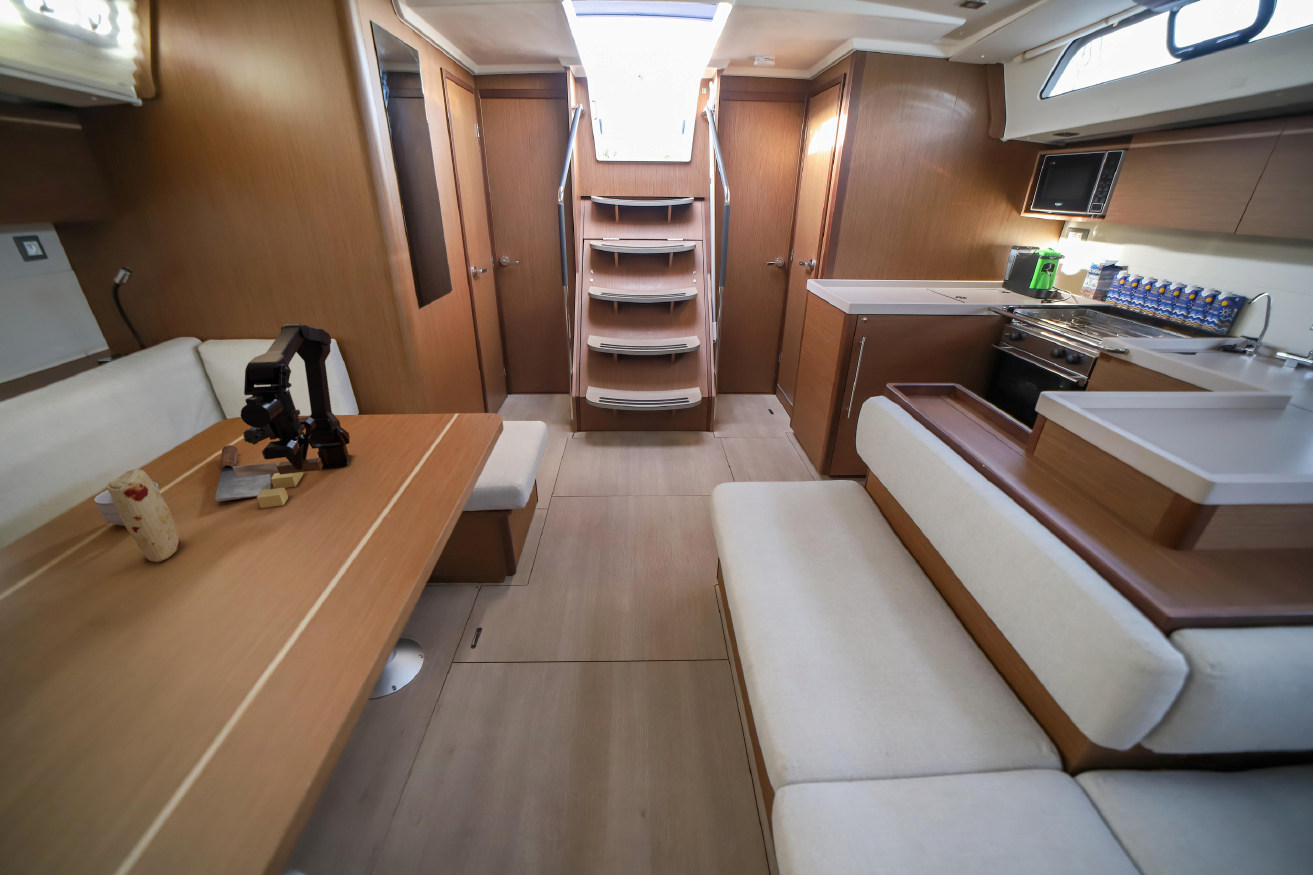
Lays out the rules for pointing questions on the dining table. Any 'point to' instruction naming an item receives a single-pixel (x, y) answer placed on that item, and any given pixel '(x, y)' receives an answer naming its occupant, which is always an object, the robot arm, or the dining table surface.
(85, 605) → the dining table surface
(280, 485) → the butter block
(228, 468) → the meat cleaver
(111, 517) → the teacup
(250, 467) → the knife
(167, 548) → the food model
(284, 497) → the butter slice
